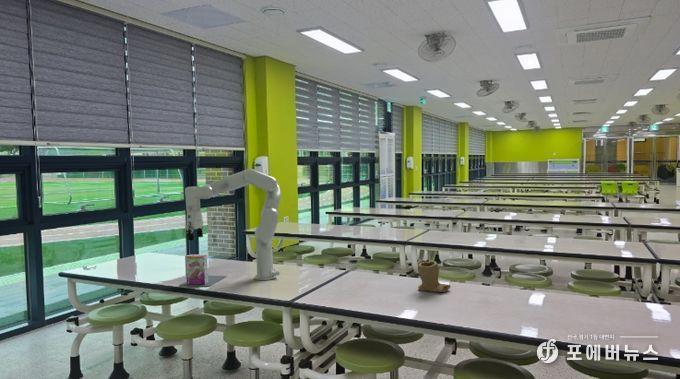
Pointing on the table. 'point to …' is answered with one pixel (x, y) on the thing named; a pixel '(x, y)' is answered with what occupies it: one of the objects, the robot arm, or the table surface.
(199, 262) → the candy bar box
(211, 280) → the charcoal mat
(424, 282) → the tan boot
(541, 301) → the table surface
